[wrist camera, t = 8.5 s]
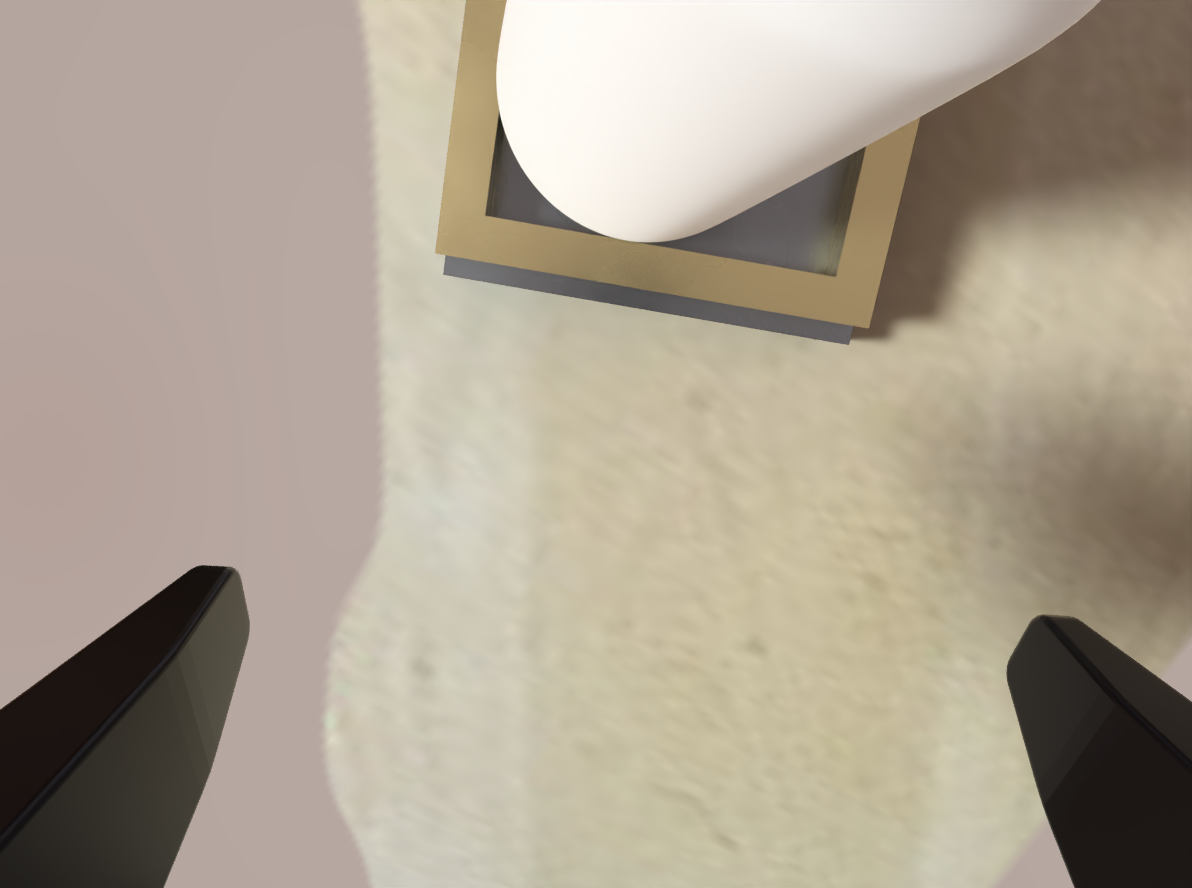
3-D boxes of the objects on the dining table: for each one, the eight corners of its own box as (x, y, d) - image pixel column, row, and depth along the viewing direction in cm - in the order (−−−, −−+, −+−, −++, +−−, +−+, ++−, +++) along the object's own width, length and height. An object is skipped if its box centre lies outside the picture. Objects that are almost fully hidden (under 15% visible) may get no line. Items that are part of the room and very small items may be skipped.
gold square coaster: (832, 338, 21) (863, 350, 19) (455, 273, 21) (432, 275, 19) (942, -131, 19) (996, -194, 16) (516, -209, 19) (501, -286, 16)
